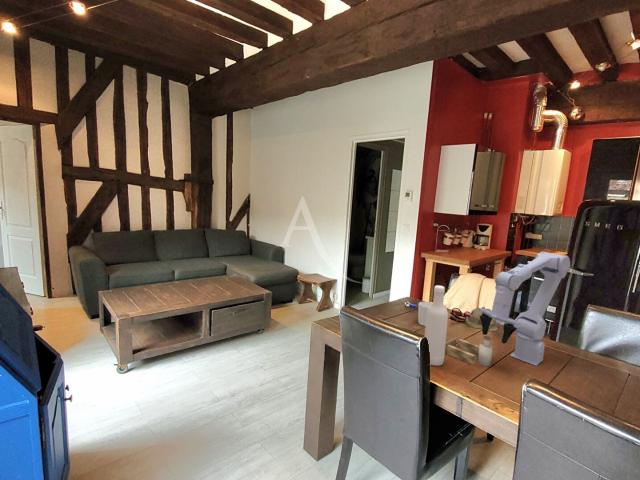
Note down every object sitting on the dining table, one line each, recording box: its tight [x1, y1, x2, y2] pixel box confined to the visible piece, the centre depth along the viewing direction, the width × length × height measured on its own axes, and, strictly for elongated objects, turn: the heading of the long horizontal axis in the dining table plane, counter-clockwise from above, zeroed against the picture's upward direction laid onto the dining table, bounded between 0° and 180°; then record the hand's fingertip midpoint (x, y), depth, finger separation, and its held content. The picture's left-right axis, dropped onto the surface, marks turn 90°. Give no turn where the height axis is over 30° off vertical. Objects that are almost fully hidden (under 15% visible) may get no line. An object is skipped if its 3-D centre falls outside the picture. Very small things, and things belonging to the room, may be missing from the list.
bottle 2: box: [477, 335, 494, 367], centre depth 128 cm, size 5×5×10 cm
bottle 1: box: [424, 284, 449, 367], centre depth 127 cm, size 8×8×30 cm
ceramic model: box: [465, 306, 499, 332], centre depth 164 cm, size 14×11×10 cm
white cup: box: [417, 301, 433, 327], centre depth 165 cm, size 8×8×10 cm
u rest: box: [445, 337, 480, 366], centre depth 135 cm, size 14×11×4 cm
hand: (494, 338), depth 125 cm, fingers open, 7 cm apart
